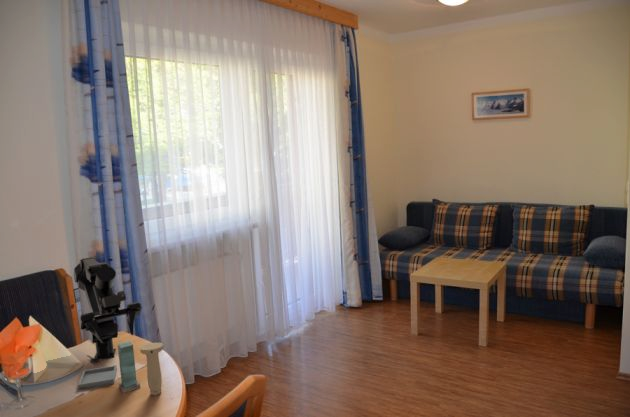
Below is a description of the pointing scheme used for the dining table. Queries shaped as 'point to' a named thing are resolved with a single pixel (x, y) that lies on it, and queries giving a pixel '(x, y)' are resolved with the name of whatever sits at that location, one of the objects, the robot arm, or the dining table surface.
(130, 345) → the teal green tall block
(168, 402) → the dining table surface
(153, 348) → the handle
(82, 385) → the tray
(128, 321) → the robot arm
